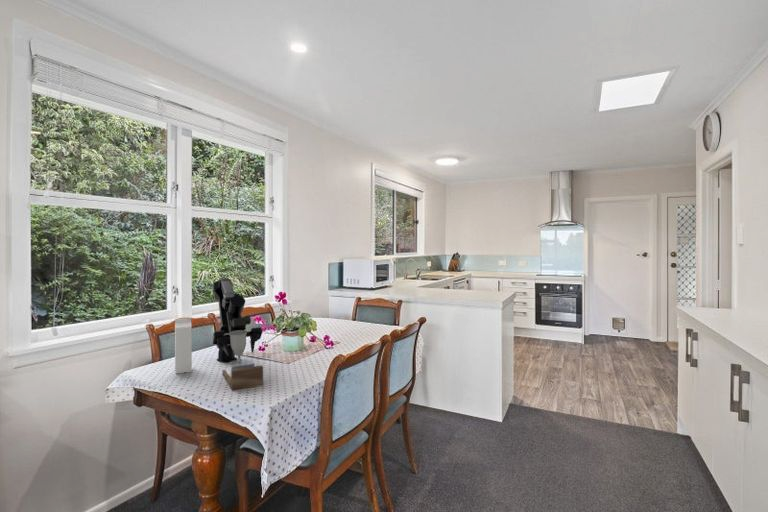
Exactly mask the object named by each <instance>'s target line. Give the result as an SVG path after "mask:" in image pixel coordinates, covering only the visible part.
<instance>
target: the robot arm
mask: <svg viewBox="0 0 768 512" xmlns="http://www.w3.org/2000/svg"><path fill="white" fill-rule="evenodd" d="M211 292H212V293H213V296H214V298H215V299H216V300H217V302H218V311H219V316H220V317H219V318H220V319H219V320H220V325H221V326H220V329H219V330H216V331H213V334H212V339H211V340H212V345H216V348H217V349H218V352H217V353H218V356H217V357H218V358H217V359H216V361H218V362H223V363H228V362H231V361H235V360H236V361H237V360H238V357H236V355H235V354H234V352H233V350H232V348H231V341H230V335H229V333H230V332H232V331H237V330H245V331H247V327H246V326H247V325H251V322H252V320H251V315H246V316H244V317H243V315H242V313H243V311H244V307H245V304H246V299H245V298H244V297H243V296H242V295H240V294H239V293H236V292H235V291H234V288H233V282H232V280H231V278H228V277H227V278H220V279H218V280H216V281H213V283H212V285H211ZM262 334H263V328H262V327H251V330H250V331H247V334H246V338H247V337H249V339H250V340H249V344H250V350H251V353H252V354H253V353H254V351H255V344H256V342H258V341H259V340H261V338H262Z"/></svg>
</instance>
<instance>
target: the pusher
mask: <svg viewBox="0 0 768 512" xmlns="http://www.w3.org/2000/svg"><path fill="white" fill-rule="evenodd" d="M248 367H255V363H248V364H247V363H246V364H242V365H239V366H237V365H232V366H231V370H234V369H241V368H248ZM231 370H230V371H231Z"/></svg>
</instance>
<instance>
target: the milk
mask: <svg viewBox="0 0 768 512" xmlns="http://www.w3.org/2000/svg"><path fill="white" fill-rule="evenodd" d="M174 322H175V323H174V373H175V374H176V373H178V374H183V373H184V372H186V373H191V372H192V371H193V369H192V367H193V363H192V359H193V357H192V356H193V355H192V347H193V346H192V344H193V343H192V342H193V341H192V339H193V338H192V337H193V336H192V334H193V333H192V329H193V328H192V317H184V318H175V320H174Z"/></svg>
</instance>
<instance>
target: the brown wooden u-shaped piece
mask: <svg viewBox="0 0 768 512" xmlns="http://www.w3.org/2000/svg"><path fill="white" fill-rule="evenodd" d="M230 372H231V373H230V374H229V373H228V372H227V370H226V369H222V373H221V374H222V376H223V378H224V380H225V381H226V383H227V385H228V386H229V387H230V389H231V391H237V390H243V389H249V388H255V387H256V388H257V387H261V386H263V385H264V365H256V366H255V365H254V367H248V368H241V369H234V370H230Z"/></svg>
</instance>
